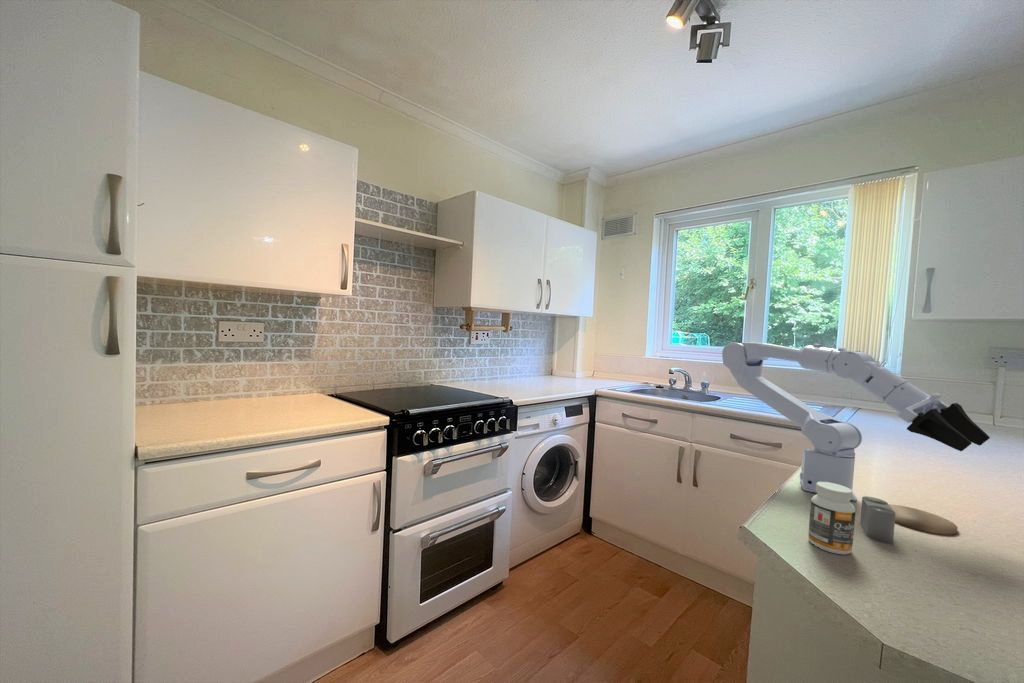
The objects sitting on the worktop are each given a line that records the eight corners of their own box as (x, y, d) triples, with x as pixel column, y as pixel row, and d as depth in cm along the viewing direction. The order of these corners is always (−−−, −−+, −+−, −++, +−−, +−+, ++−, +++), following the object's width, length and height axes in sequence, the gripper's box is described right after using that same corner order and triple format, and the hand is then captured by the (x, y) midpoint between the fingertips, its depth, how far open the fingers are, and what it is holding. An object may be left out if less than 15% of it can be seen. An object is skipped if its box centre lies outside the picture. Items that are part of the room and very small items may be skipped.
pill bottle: (840, 559, 63) (846, 496, 62) (800, 541, 68) (805, 482, 67) (859, 551, 65) (864, 491, 65) (818, 534, 70) (823, 478, 70)
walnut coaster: (884, 522, 77) (885, 518, 77) (871, 503, 86) (871, 499, 86) (968, 541, 71) (968, 536, 71) (944, 518, 80) (944, 514, 80)
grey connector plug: (895, 545, 68) (898, 516, 68) (868, 539, 70) (870, 510, 70) (879, 521, 77) (881, 495, 77) (855, 516, 79) (857, 491, 79)
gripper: (892, 380, 77) (977, 434, 67) (929, 375, 83) (1011, 424, 73) (866, 407, 81) (943, 461, 71) (903, 400, 87) (978, 450, 77)
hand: (975, 444), depth 72 cm, fingers open, 7 cm apart
